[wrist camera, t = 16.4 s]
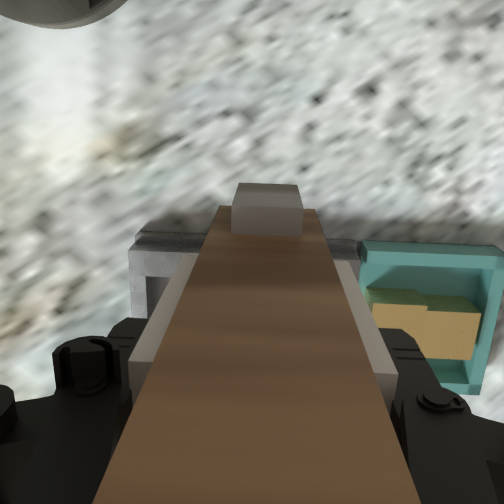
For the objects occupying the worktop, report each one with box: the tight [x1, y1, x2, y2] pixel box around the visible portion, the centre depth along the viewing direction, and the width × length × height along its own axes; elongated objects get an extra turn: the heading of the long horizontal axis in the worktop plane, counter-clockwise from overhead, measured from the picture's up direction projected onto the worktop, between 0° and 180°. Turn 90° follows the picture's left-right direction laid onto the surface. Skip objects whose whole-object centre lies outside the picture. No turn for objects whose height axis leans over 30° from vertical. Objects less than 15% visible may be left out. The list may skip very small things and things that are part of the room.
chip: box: [364, 287, 428, 348], centre depth 37 cm, size 4×4×3 cm
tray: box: [358, 240, 504, 395], centre depth 38 cm, size 12×10×2 cm
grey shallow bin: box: [128, 231, 361, 319], centre depth 38 cm, size 12×17×3 cm
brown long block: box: [92, 183, 421, 504], centre depth 12 cm, size 6×4×17 cm, turn 178°
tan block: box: [420, 294, 481, 360], centre depth 37 cm, size 4×4×3 cm
